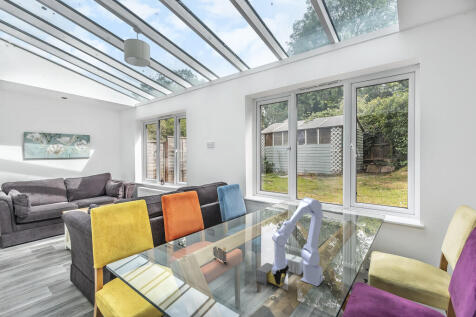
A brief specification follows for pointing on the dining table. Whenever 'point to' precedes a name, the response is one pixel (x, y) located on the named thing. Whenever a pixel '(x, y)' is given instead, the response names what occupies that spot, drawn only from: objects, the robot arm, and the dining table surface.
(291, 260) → the supplement box
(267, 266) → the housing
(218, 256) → the ruin model on sheet
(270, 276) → the end cover
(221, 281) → the dining table surface
